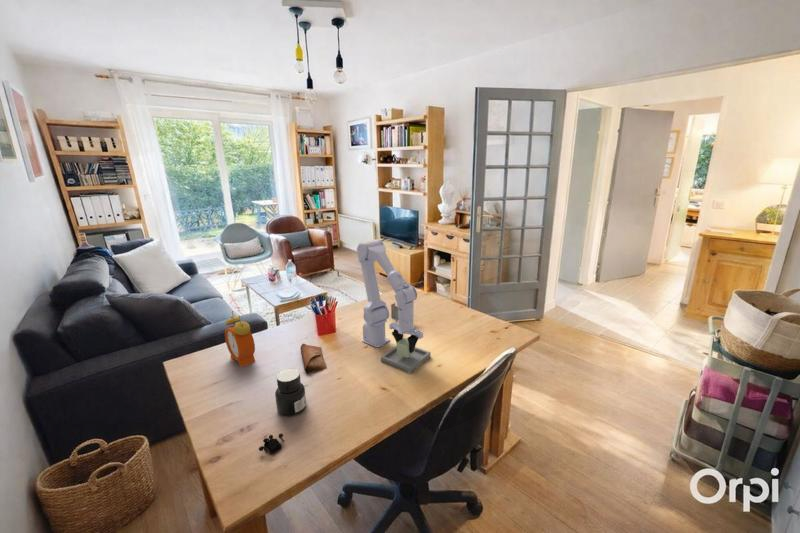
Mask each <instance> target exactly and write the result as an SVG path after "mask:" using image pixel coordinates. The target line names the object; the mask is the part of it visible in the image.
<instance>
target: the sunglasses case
mask: <svg viewBox="0 0 800 533" xmlns="http://www.w3.org/2000/svg"><path fill="white" fill-rule="evenodd" d="M322 351H323V350H322V347H321V346H316V345H312V344H311V345H310V344H306V343H301V345H300V354H301V358H302V364H303V368H304V372H305V373H306V374H312V373H315V372H316V373H317V372H321V371H324V370H327V369H328V368H327V365H326V362H325V359H324V356H323V352H322Z"/></svg>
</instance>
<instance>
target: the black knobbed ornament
mask: <svg viewBox="0 0 800 533" xmlns="http://www.w3.org/2000/svg"><path fill="white" fill-rule="evenodd" d="M283 436H284V434H283V433H281V432H280V433H279V434H278V438H279V439H280V440H281V441H282V442H283V443H285V442H286V441H285V440H284V439H283ZM262 442H263V443H264V444H263V445H261V446H260V447H258V451H260V452H262V451H264V452H265V453H266V454H267V455H268V454H269V453H270V454H272V455H273V454H275V453H277V452H279V450H281V448H282V443H280V441H279V440H278V439H277V438H275V437H274V435H273V434H269V435H268V437H265V438H264V439H263V440H262Z"/></svg>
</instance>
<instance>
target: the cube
mask: <svg viewBox="0 0 800 533" xmlns="http://www.w3.org/2000/svg"><path fill="white" fill-rule="evenodd" d="M407 338H408V337H404V336H403V338H402V339H401V340H399V341H398V342H397V343H396V346H397V354H399V355H401V356H404V357H406V358H408V357H409V356H410V355H412V354H413V353H414V352H415V349H414V351H413V352H412V353H410V352H409V342H408V339H407Z"/></svg>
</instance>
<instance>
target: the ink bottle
mask: <svg viewBox="0 0 800 533" xmlns="http://www.w3.org/2000/svg"><path fill="white" fill-rule="evenodd" d="M276 386H277V388H276V390H275V393H274V395H275V403H276V404H275V406H276V411H277V414H279V416H282V417H286V418H287V417H294V416H297V415H300V414H301V413H302V412H303V411H304V410H305V409H306V407H307V399H306V398H307V397H306V388H305V385H304V384H303V383H302V382H301V373H300V370H298V369H296V368H287V369H284V370H282V371H280V372H278V374H277V375H276Z"/></svg>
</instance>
